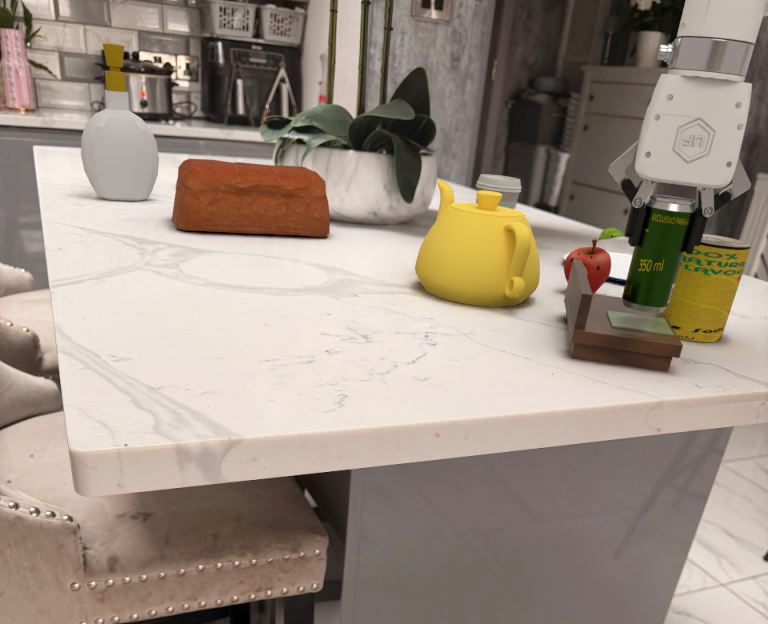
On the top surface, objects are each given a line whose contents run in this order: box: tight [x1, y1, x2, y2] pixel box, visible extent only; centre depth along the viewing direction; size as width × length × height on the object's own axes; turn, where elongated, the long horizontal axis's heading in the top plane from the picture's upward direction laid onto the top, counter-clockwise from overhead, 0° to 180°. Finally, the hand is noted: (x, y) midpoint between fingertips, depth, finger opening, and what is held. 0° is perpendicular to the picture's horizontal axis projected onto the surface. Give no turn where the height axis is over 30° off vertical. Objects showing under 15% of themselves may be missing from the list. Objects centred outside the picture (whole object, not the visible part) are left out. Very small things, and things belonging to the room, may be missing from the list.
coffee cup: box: [475, 173, 522, 210], centre depth 143 cm, size 8×8×12 cm
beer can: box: [621, 193, 697, 313], centre depth 86 cm, size 5×5×12 cm
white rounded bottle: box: [80, 42, 160, 202], centre depth 143 cm, size 14×9×26 cm, turn 118°
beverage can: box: [663, 233, 752, 343], centre depth 100 cm, size 9×9×12 cm
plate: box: [562, 251, 633, 283], centre depth 135 cm, size 25×25×1 cm
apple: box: [563, 227, 625, 294], centre depth 114 cm, size 8×7×10 cm
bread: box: [171, 158, 331, 238], centre depth 133 cm, size 16×27×11 cm, turn 109°
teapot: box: [414, 179, 541, 307], centre depth 108 cm, size 25×18×14 cm
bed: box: [563, 259, 684, 373], centre depth 93 cm, size 12×20×8 cm, turn 170°
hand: (659, 246), depth 86 cm, fingers closed on beer can, 5 cm apart
